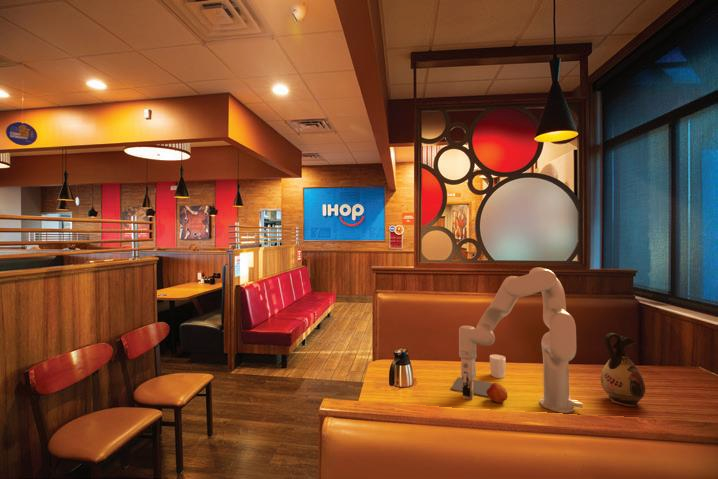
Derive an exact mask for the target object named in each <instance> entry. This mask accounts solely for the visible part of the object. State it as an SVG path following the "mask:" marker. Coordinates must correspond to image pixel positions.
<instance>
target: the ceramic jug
mask: <svg viewBox="0 0 718 479" xmlns="http://www.w3.org/2000/svg"><path fill="white" fill-rule="evenodd" d="M612 339H615V341H614V343H613V344H612V343H611V340H612ZM604 342H605V343H604V344H605V346H606V349H607V351H608V354H609V359H608V361H607V362H606V364H605V365H604V366H603V368H602V371H601V372H600V373H601V374H600V384H601V387H602V390H604V392H605V393H606V394H607V396H608V397H609V398H610V401H611V402H612V403H615V404H618V405H621V406H625V407H634V408H637V407H638V403H639V402H640V401H641V400H642V399H643V398H644V397H645V393H646V385H645V381H644V378H643V376H642V374H641V372H640V371H639V369H638V368H637V367H636V365H635V363H634V362H633V361H632V360H631V359H630V358H629V356H628V355H627V353H626V351H625V349H626V348H628V347H629V346H632V345H635V341H634V340H633V339H632V338H630V337H628V336H626V337H624V336H623V335H621V336H620V335H619V334H617V333H615V332H609V333H607V334H605V337H604ZM613 348H614V349H615V351H614V349H613Z"/></svg>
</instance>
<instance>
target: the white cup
mask: <svg viewBox="0 0 718 479" xmlns="http://www.w3.org/2000/svg"><path fill="white" fill-rule="evenodd" d="M506 358H507V357H506V356H504V355H500V354H490V355H489V366H490V367H489V369H490V376H491V377H493V378H496V379H504V378H505V377H506V374H505V373H506V362H507V361H506Z"/></svg>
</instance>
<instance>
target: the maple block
mask: <svg viewBox="0 0 718 479" xmlns="http://www.w3.org/2000/svg"><path fill="white" fill-rule="evenodd" d="M467 380H469V379H467ZM467 384H468V382H467ZM469 387H470V397H468V396H463V395H462V399H465V400H470V401H473V399H474V396H475V395H474V387H473V382H471V381H470V386H469Z"/></svg>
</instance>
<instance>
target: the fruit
mask: <svg viewBox="0 0 718 479" xmlns="http://www.w3.org/2000/svg"><path fill="white" fill-rule="evenodd" d="M487 395H488V396H489V399H490V400H492V401H493V402H496V403H499V404H500V403H501V404H502V403H505V401H507V399H508V391H507V389H506V388H505V387H504V386H503V385H502V384H501V383H499V382H498V383H497V382H493V384H492V385H491V386H490V388H488V389H487Z"/></svg>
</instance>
